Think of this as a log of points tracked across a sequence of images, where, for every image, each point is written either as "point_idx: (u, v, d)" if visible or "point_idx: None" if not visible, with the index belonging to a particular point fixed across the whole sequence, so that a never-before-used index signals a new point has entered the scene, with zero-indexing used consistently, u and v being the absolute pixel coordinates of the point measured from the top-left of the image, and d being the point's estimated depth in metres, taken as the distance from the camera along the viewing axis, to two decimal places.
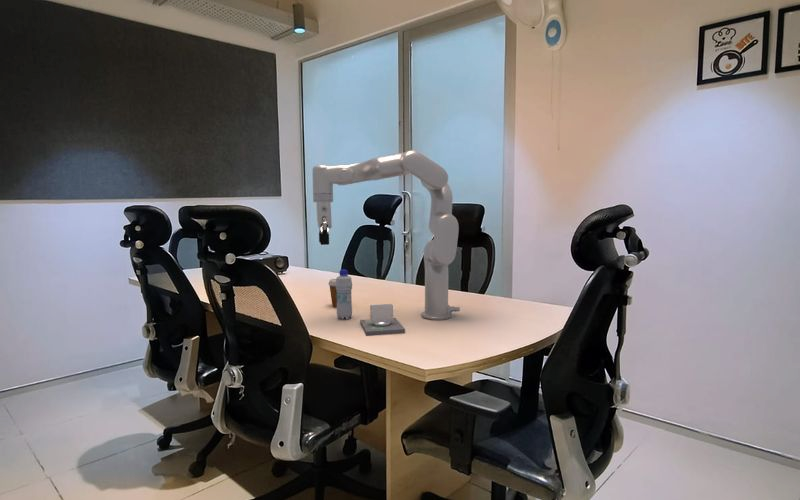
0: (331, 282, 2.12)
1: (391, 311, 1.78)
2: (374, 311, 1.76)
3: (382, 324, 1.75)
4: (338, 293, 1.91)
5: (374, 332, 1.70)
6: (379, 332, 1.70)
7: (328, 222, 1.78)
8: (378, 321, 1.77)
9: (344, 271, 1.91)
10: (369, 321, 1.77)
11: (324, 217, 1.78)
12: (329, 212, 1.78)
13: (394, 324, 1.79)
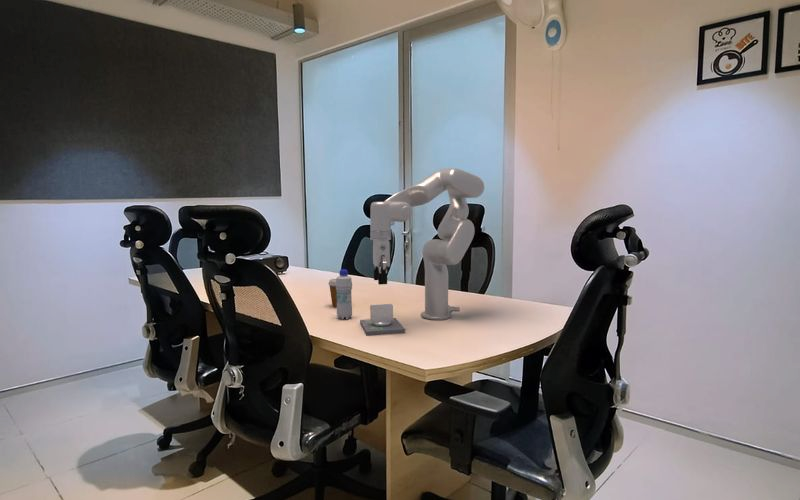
0: (331, 282, 2.12)
1: (391, 311, 1.78)
2: (374, 311, 1.76)
3: (382, 324, 1.75)
4: (338, 293, 1.91)
5: (374, 332, 1.70)
6: (379, 332, 1.70)
7: (387, 261, 1.72)
8: (378, 321, 1.77)
9: (344, 271, 1.91)
10: (369, 321, 1.77)
11: (383, 256, 1.71)
12: (388, 251, 1.72)
13: (394, 324, 1.79)
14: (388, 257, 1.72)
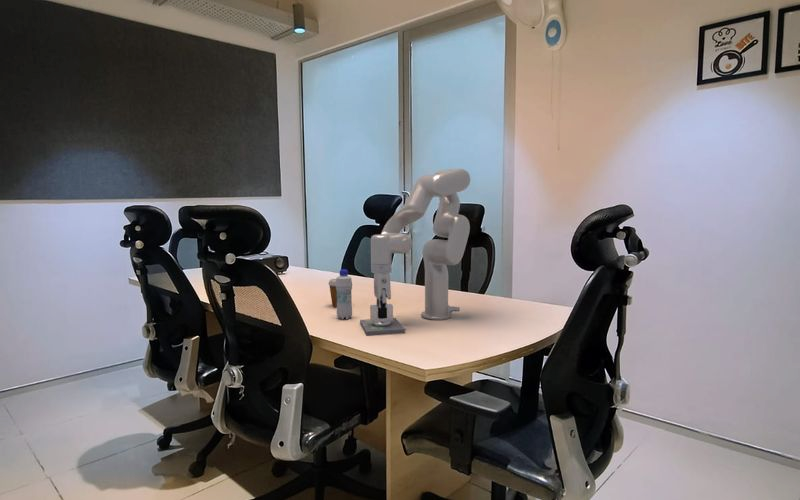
0: (331, 282, 2.12)
1: (391, 311, 1.78)
2: (374, 311, 1.76)
3: (382, 324, 1.75)
4: (338, 293, 1.91)
5: (374, 332, 1.70)
6: (379, 332, 1.70)
7: (388, 294, 1.73)
8: (378, 321, 1.77)
9: (344, 271, 1.91)
10: (369, 321, 1.77)
11: (383, 291, 1.73)
12: (389, 284, 1.73)
13: (394, 324, 1.79)
14: (389, 290, 1.73)
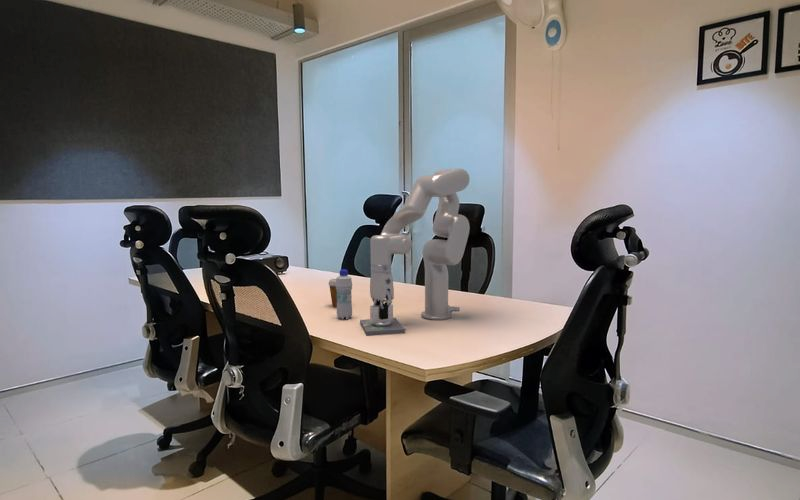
0: (331, 282, 2.12)
1: (391, 310, 1.79)
2: (376, 311, 1.76)
3: (385, 324, 1.76)
4: (338, 293, 1.91)
5: (374, 332, 1.70)
6: (379, 332, 1.70)
7: (391, 294, 1.74)
8: (380, 321, 1.77)
9: (344, 271, 1.91)
10: (370, 322, 1.76)
11: (388, 292, 1.74)
12: (392, 284, 1.74)
13: (394, 324, 1.79)
14: (392, 290, 1.75)
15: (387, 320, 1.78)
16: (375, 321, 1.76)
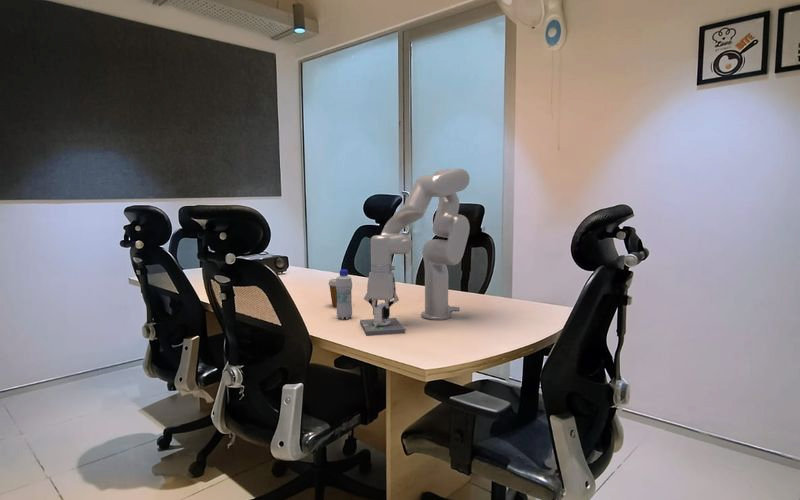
0: (331, 282, 2.12)
1: None
2: (382, 311, 1.75)
3: (390, 323, 1.77)
4: (338, 293, 1.91)
5: (374, 332, 1.70)
6: (379, 332, 1.70)
7: (395, 292, 1.78)
8: (384, 321, 1.77)
9: (344, 271, 1.91)
10: (378, 323, 1.74)
11: (393, 290, 1.76)
12: None
13: (394, 324, 1.79)
14: (395, 288, 1.78)
15: (387, 319, 1.80)
16: (382, 321, 1.75)
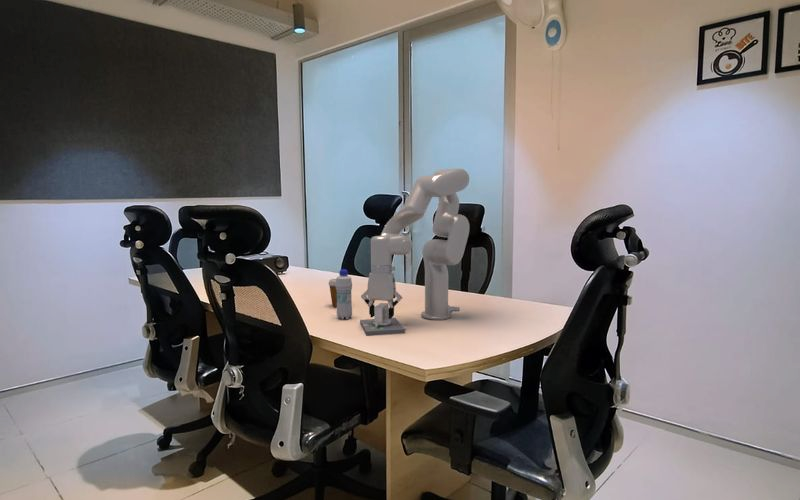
0: (331, 282, 2.12)
1: (388, 309, 1.81)
2: (383, 311, 1.75)
3: (390, 322, 1.78)
4: (338, 293, 1.91)
5: (374, 332, 1.70)
6: (379, 332, 1.70)
7: None
8: (384, 321, 1.77)
9: (344, 271, 1.91)
10: (378, 323, 1.74)
11: (394, 290, 1.76)
12: None
13: (394, 324, 1.79)
14: (395, 289, 1.78)
15: (386, 319, 1.80)
16: (382, 321, 1.75)
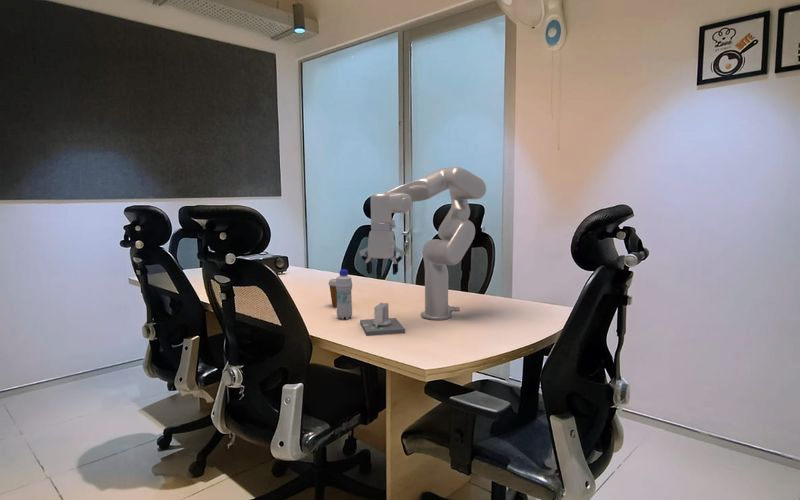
0: (331, 282, 2.12)
1: None
2: (383, 311, 1.75)
3: (390, 322, 1.78)
4: (338, 293, 1.91)
5: (374, 332, 1.70)
6: (379, 332, 1.70)
7: None
8: (384, 321, 1.77)
9: (344, 271, 1.91)
10: (378, 323, 1.74)
11: (395, 246, 1.75)
12: (395, 241, 1.77)
13: (394, 324, 1.79)
14: None
15: (386, 319, 1.80)
16: (382, 321, 1.75)
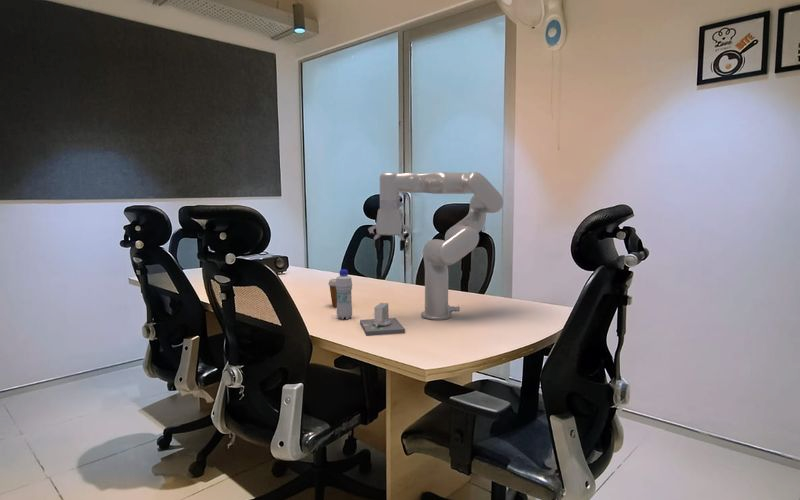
0: (331, 282, 2.12)
1: None
2: (383, 311, 1.75)
3: (390, 322, 1.78)
4: (338, 293, 1.91)
5: (374, 332, 1.70)
6: (379, 332, 1.70)
7: (403, 228, 1.85)
8: (384, 321, 1.77)
9: (344, 271, 1.91)
10: (378, 323, 1.74)
11: (402, 224, 1.83)
12: None
13: (394, 324, 1.79)
14: None
15: (386, 319, 1.80)
16: (382, 321, 1.75)
